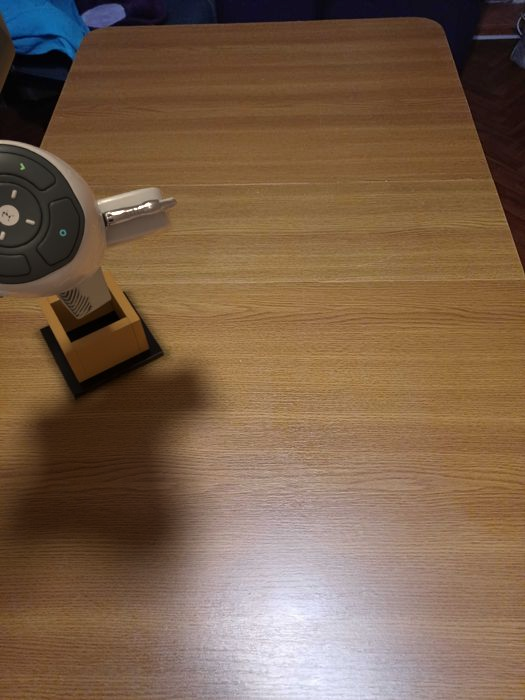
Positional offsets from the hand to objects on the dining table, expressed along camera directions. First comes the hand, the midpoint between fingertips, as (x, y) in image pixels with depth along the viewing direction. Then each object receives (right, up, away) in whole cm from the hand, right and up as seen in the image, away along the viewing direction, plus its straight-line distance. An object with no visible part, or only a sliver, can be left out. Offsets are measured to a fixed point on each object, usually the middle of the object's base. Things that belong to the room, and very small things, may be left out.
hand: (62, 244), depth 59 cm
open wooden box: (-1, -9, +20) cm, 22 cm away
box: (+1, -5, +6) cm, 7 cm away
